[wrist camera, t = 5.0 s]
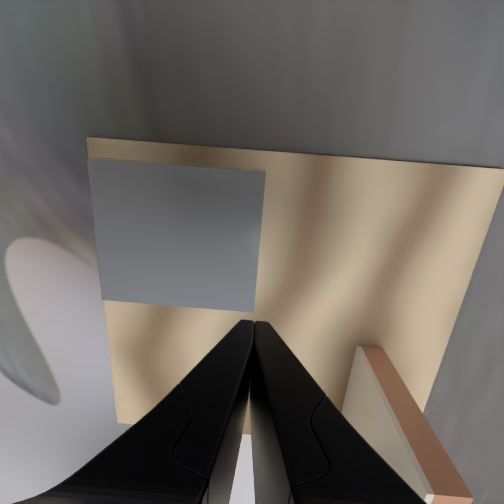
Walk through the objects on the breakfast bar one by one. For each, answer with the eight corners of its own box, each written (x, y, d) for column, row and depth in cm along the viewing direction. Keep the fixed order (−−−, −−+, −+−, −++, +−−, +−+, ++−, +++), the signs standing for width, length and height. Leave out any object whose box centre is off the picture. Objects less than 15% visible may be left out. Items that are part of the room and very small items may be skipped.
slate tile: (266, 172, 14) (86, 158, 15) (253, 312, 17) (102, 300, 17) (265, 170, 16) (104, 157, 16) (254, 297, 19) (116, 286, 19)
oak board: (503, 169, 16) (509, 169, 16) (407, 443, 23) (410, 448, 23) (90, 137, 16) (86, 136, 16) (119, 418, 23) (117, 422, 23)
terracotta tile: (383, 348, 20) (473, 498, 11) (360, 434, 22) (419, 608, 14) (356, 345, 20) (426, 494, 11) (336, 432, 22) (381, 605, 14)
